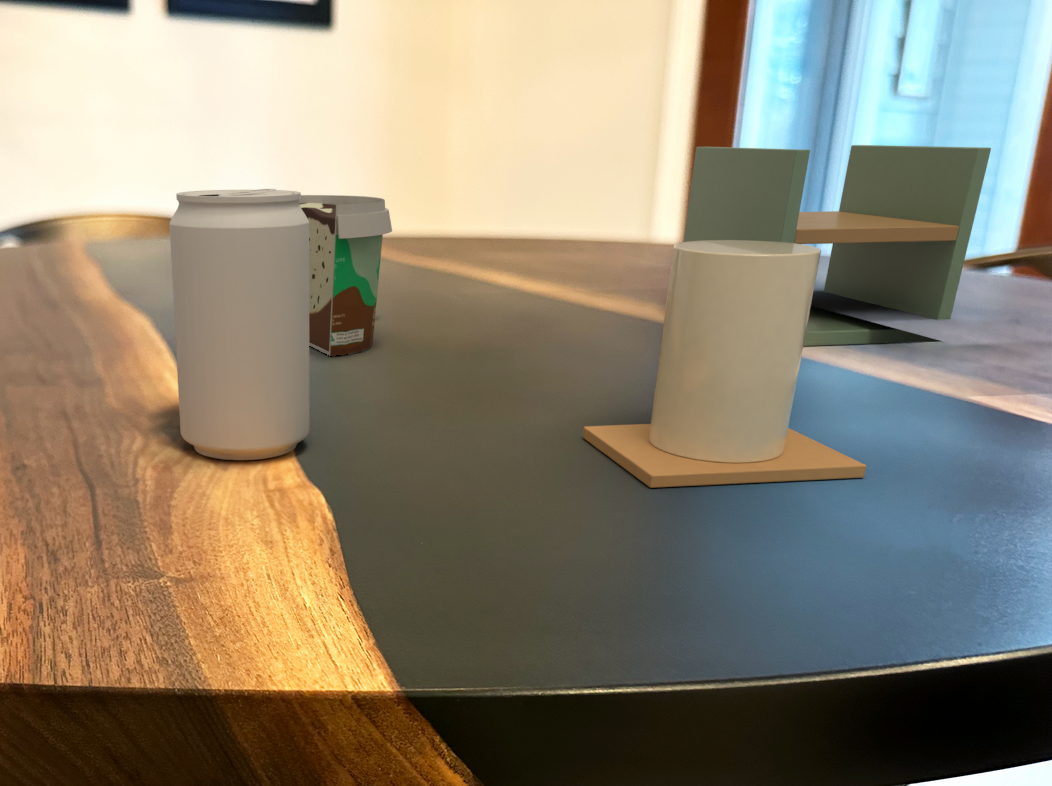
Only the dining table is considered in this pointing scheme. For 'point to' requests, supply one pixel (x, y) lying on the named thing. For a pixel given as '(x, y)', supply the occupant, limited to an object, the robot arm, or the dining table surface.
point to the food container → (344, 269)
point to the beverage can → (241, 321)
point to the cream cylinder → (731, 348)
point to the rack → (853, 225)
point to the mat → (673, 471)
